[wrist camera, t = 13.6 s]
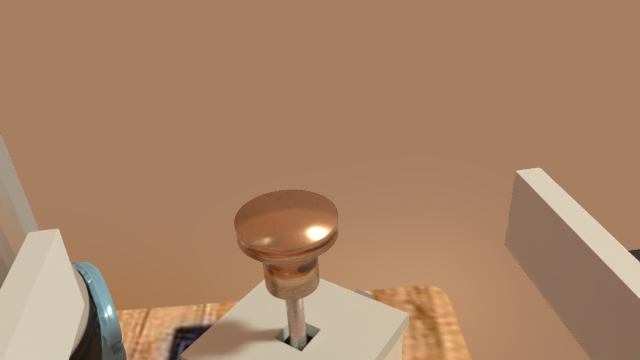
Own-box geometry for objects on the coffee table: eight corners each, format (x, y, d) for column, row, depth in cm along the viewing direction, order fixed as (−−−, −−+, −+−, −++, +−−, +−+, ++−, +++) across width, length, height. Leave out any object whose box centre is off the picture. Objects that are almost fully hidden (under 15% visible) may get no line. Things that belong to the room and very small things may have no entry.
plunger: (253, 457, 45) (212, 227, 34) (299, 401, 50) (277, 181, 38) (319, 499, 42) (297, 260, 30) (361, 435, 46) (357, 205, 35)
